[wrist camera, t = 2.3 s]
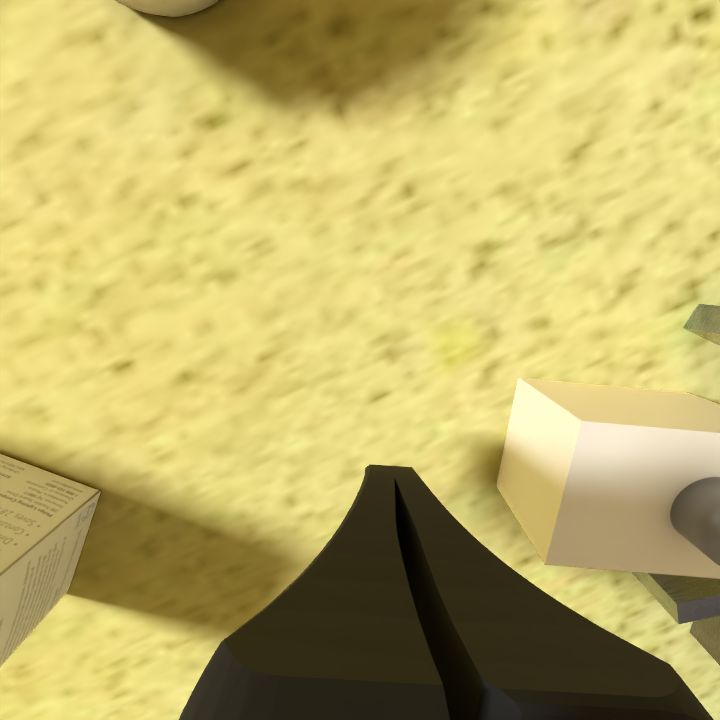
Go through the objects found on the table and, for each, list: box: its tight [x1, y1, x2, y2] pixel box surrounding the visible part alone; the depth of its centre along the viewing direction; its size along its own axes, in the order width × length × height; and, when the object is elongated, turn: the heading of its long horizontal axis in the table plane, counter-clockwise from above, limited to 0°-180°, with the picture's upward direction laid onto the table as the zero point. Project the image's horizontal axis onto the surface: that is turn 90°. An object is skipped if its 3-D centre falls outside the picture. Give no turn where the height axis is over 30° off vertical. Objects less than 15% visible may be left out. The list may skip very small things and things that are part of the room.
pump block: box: [496, 377, 720, 579], centre depth 13 cm, size 5×7×6 cm
